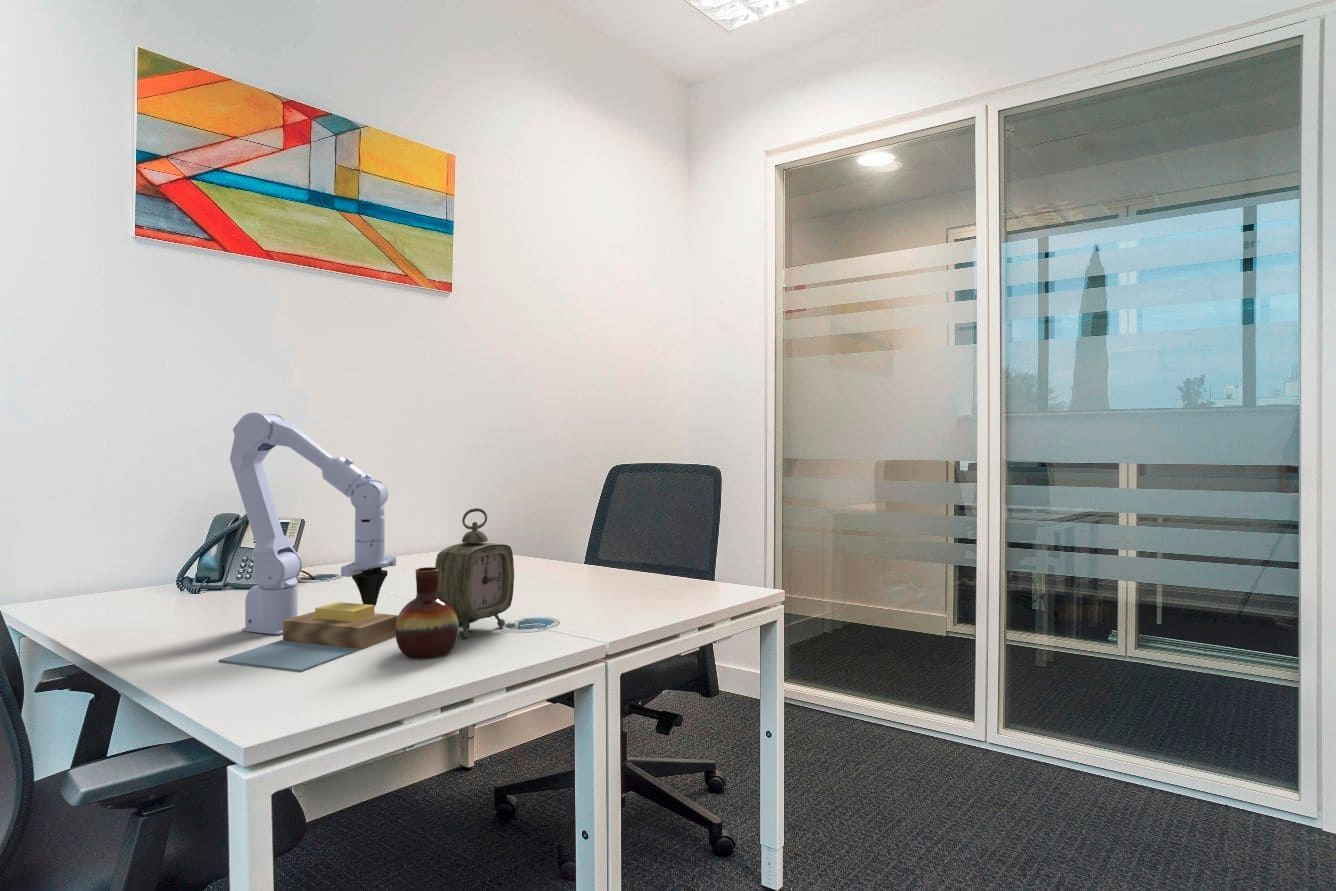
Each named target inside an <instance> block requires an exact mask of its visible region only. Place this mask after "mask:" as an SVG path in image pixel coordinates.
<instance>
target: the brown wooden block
mask: <svg viewBox="0 0 1336 891" xmlns="http://www.w3.org/2000/svg"><path fill="white" fill-rule="evenodd" d="M398 615H399V614H398ZM398 615H396V614H390V613H389V614H388V613H387V614H386V613H376V612H374V616H371V617H367V618H364V619H361V620H358V621H355V622H349V621H338V620H328V619H317V618H315V610H314V611H311V612H308V613H305V614H301V615H298V616H297V617H293V618H290V619H286V620H283V633H282V640H283V641H292V642H301V643H310V644H320V645H329V646H338V647H347V648H357V649H359V650H358V651H360V650H363V649H366V648H368V647H371V646H375V645H377V644H379V643H382V642H384V641H387V640H391V639H393V638H396V636H395V625H396V621H397V618H398Z"/></svg>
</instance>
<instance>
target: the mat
mask: <svg viewBox="0 0 1336 891" xmlns="http://www.w3.org/2000/svg"><path fill="white" fill-rule="evenodd" d="M359 651H360V650H359V649H357V648H347V647H338V646H329V645H320V644H310V643H301V642H292V641H283V639H282V640H281V639H280V640H277V641H274V642H270V643H269V644H265V645H261V646H258V647H255V648H252V649H248V650H245V651H243V652H239V653H236V654H233V655H230V656H226V657H224V658H220V659H218V662H220V663H226V662H227V664H237V665H244V666H252V667H259V668H269V669H277V670H285V671H292V672H294V671H295V672H300V673H301V672H305V671H307V670H310V669H312V668H315V667H318V666H321V665H324V664H327V663H329V662H332V661H334V660H337V659H339V658H341V657H344V656H348V655H350V654H352V653H356V652H359Z"/></svg>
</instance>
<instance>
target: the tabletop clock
mask: <svg viewBox="0 0 1336 891" xmlns="http://www.w3.org/2000/svg"><path fill="white" fill-rule="evenodd" d="M474 512H475V513H477V512H479V513H482V514H483V515H484V521H483V522H482V523H480V524H478V522H476V521H474V522H472V524H471V526H470V525H468V524H466V517H467V516H468V515H469V514H471V513H474ZM461 522H462V526H463V527H464V528H465V529H466V530H469V531H467V532H466V533H465V534H464V535H463V536H462V538H461V543H456V544H453V545H449V546H448V547H446V548H444V549H442V550H441V551H439V552H438V553H437V555H436V559H435V563H434V564H435V566H434V567H435V568H439V579H438V596H439V597H440V598H442V599H444V600H445V601H447V602H448V603H449V604H450V605H451V606H452V607H453V609H454V610H455V612H456V614H457V617H461V619H462V622H463V624H462V626H461V629H462V630H461V631H460V637H461V638H462V639H467V638H468V637H469V635H470V632H469V631H468V630H470V627H471V626H470V622H469V623H468V621H469V619H476V620H481V619H482V620H483V619H487V618H491V617H495V619H496V620H497V622H496V625H497V626H498V627H500V628H502V627H503V628H504V627H505V624H506V620H505V619H504V618H500V617H499V616H500V615H499V614H502V613H504V612H505V611H507V610H508V609H510V607H511V605H512V602H513V596H514V588H515V587H514V586H515V584H514V583H515V567H514V566H515V565H514V555H513V550H512V547H511V546H510V545H508V544H502V543H494V542H493V543H491V542H489V539H488V537H487V535H486V534H485V533H484V532H483V531H482V530H479V529H481V528H483V527H484V526H485V525H486V523H487V522H488V515H487V512H486V511H485V510H484V509H482V508H478V507H475V508H471V509H468V510H467V511H466V512H465V513H464V515H463V516H462V520H461Z"/></svg>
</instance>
